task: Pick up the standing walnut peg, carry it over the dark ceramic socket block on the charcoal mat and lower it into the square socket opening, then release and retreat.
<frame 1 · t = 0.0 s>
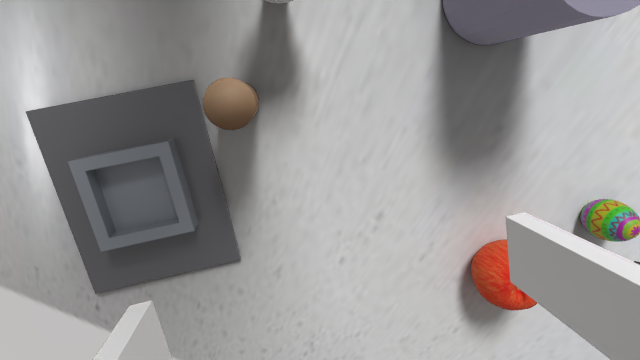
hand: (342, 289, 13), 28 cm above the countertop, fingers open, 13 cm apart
apple: (490, 259, 47), on the countertop
socket: (143, 190, 39), on the countertop
egg: (590, 213, 47), on the countertop
peg: (239, 102, 38), on the countertop
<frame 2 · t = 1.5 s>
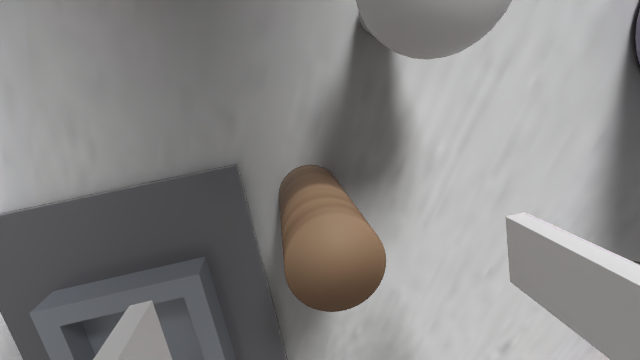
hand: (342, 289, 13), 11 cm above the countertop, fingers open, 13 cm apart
socket: (155, 330, 25), on the countertop
lightbulb: (375, 16, 22), on the countertop
peg: (309, 195, 24), on the countertop
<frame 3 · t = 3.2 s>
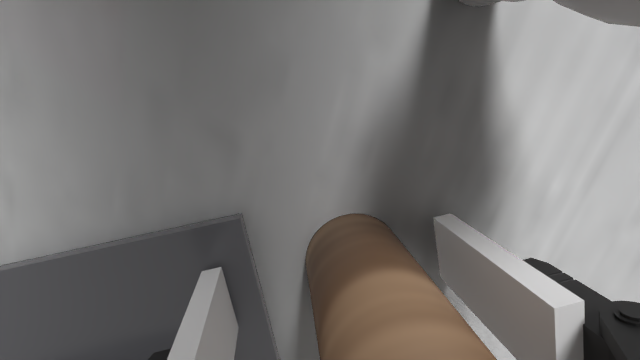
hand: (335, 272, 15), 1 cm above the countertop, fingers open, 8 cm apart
peg: (353, 259, 15), on the countertop
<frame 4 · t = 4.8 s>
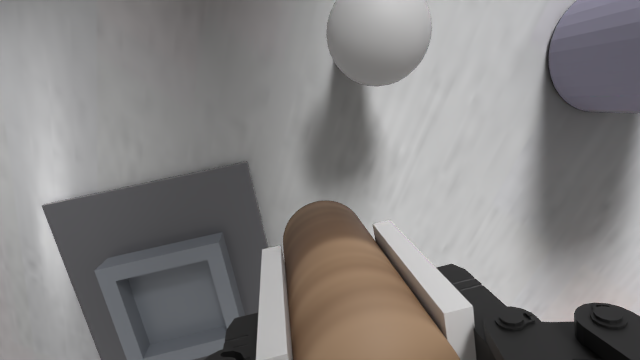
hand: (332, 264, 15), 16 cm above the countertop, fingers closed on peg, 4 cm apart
socket: (183, 291, 32), on the countertop
container: (597, 52, 32), on the countertop
lightbulb: (349, 51, 30), on the countertop
peg: (323, 239, 18), point 14 cm above the countertop, touching gripper
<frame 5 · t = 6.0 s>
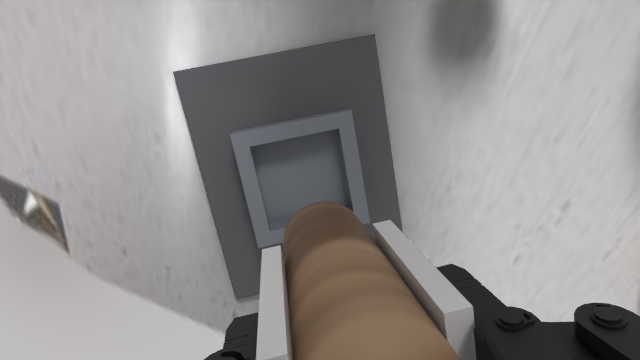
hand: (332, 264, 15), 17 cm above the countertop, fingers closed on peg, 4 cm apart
socket: (300, 173, 32), on the countertop
peg: (324, 240, 18), point 14 cm above the countertop, touching gripper
when the fingers open (4 cm above the countertop, at t = 8.1 s): peg stays where it is, resting on socket.
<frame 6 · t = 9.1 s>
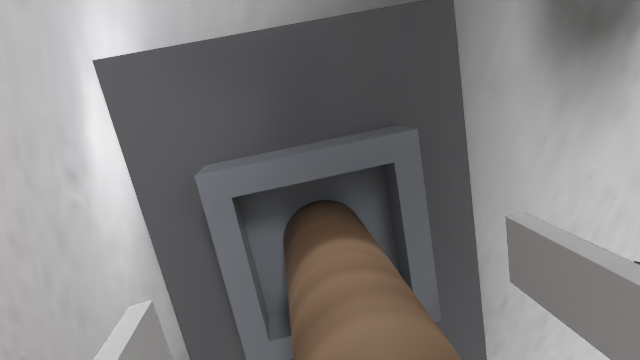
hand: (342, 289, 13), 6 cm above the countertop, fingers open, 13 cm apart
socket: (320, 231, 19), on the countertop
peg: (324, 239, 18), point 1 cm above the countertop, touching socket
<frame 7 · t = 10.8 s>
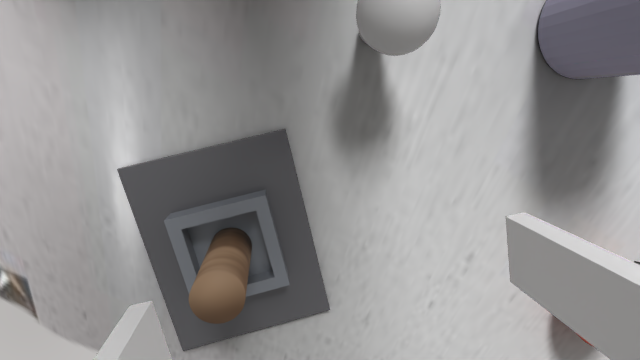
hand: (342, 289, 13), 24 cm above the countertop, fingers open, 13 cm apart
socket: (232, 242, 38), on the countertop
container: (580, 27, 38), on the countertop
lightbulb: (369, 32, 35), on the countertop
peg: (231, 246, 36), point 1 cm above the countertop, touching socket
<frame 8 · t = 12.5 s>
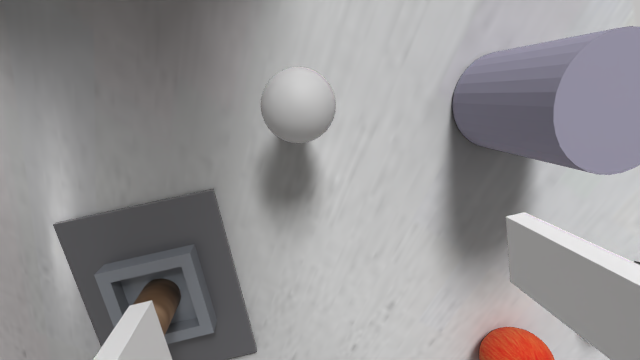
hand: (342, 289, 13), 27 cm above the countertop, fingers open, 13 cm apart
apple: (497, 341, 48), on the countertop
socket: (164, 290, 40), on the countertop
container: (494, 100, 41), on the countertop
lightbulb: (292, 103, 38), on the countertop
peg: (161, 295, 39), point 1 cm above the countertop, touching socket
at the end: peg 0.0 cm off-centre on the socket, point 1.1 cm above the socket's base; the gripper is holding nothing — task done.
